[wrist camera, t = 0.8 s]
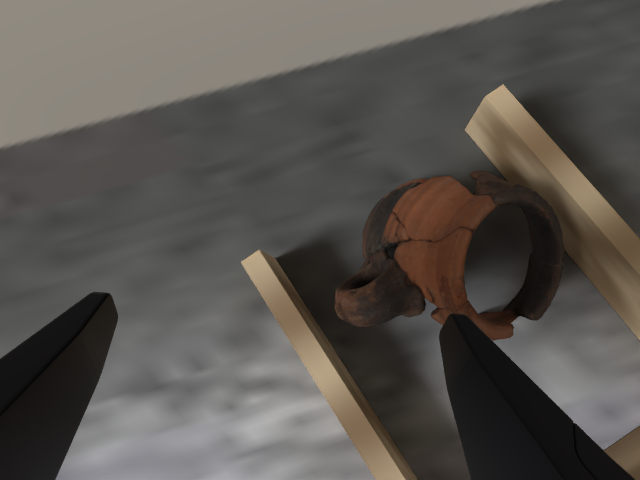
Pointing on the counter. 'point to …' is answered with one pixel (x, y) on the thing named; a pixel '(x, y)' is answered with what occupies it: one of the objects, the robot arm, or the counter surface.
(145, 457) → the counter surface
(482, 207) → the pottery mug
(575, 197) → the wooden frame
